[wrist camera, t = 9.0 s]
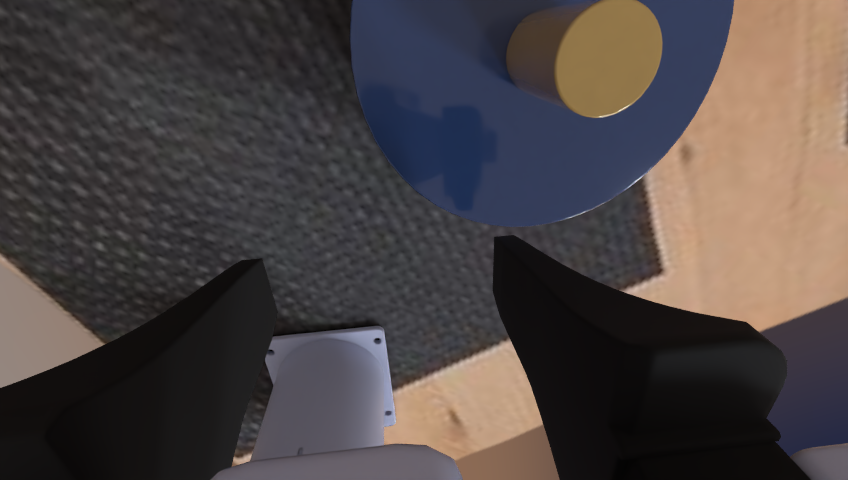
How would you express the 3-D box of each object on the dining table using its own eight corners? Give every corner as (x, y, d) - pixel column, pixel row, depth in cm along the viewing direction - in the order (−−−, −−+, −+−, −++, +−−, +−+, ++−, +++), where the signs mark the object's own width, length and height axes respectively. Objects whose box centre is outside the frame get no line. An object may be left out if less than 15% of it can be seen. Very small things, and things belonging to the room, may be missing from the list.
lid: (664, 201, 17) (771, 265, 13) (374, 228, 17) (371, 306, 12) (761, -204, 11) (1031, -374, 7) (321, -188, 11) (272, -365, 6)
